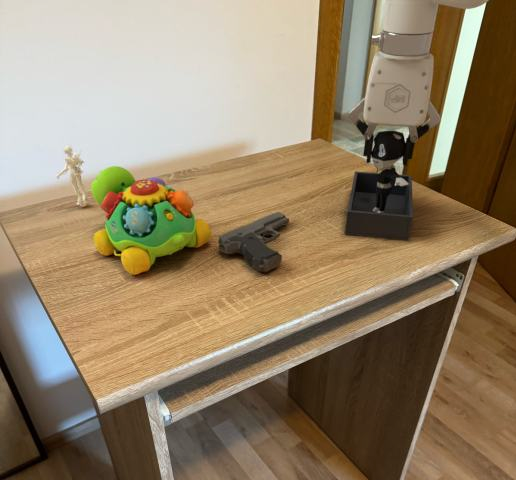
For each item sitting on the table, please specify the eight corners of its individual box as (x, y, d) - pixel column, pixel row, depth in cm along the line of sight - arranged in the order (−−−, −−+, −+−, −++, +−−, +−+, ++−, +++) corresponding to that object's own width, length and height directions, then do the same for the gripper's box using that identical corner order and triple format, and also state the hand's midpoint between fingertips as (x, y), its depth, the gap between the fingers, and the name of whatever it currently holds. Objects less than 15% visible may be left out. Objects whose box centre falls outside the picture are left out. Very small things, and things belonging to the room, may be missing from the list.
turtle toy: (148, 207, 97) (137, 147, 89) (225, 249, 85) (220, 183, 77) (70, 237, 88) (51, 174, 81) (143, 289, 76) (129, 219, 68)
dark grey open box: (407, 196, 99) (411, 175, 96) (408, 240, 86) (413, 217, 83) (352, 192, 101) (354, 171, 98) (344, 234, 88) (347, 211, 85)
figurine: (61, 205, 98) (43, 145, 90) (91, 198, 101) (75, 138, 93) (69, 215, 95) (51, 153, 87) (99, 207, 97) (84, 146, 89)
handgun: (327, 229, 85) (276, 206, 91) (263, 260, 75) (211, 233, 82) (325, 245, 87) (275, 222, 93) (262, 278, 77) (211, 250, 84)
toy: (348, 200, 98) (357, 121, 88) (376, 195, 99) (387, 117, 89) (380, 230, 88) (394, 146, 78) (410, 225, 89) (427, 141, 79)
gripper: (347, 47, 74) (336, 165, 86) (466, 51, 71) (437, 173, 83) (351, 38, 79) (340, 150, 91) (461, 41, 76) (435, 157, 88)
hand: (386, 160), depth 87 cm, fingers closed on toy, 5 cm apart
